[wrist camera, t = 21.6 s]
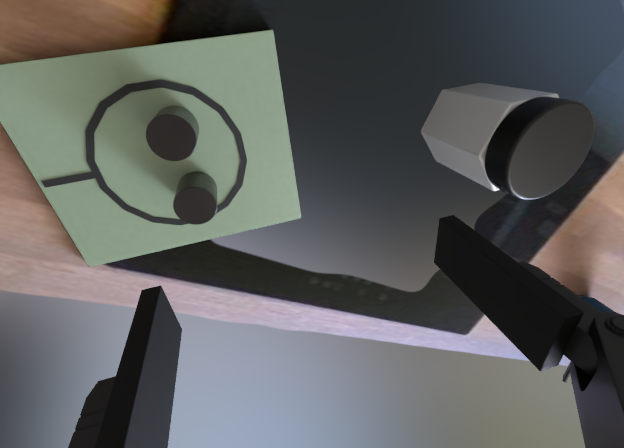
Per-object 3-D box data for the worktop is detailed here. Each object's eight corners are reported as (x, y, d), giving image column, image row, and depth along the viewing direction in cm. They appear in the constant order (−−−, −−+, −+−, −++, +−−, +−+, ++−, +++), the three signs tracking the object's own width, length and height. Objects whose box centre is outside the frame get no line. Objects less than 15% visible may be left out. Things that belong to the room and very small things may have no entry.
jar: (417, 166, 37) (494, 212, 27) (421, 91, 32) (514, 112, 22) (484, 150, 38) (581, 188, 28) (496, 77, 34) (615, 91, 24)
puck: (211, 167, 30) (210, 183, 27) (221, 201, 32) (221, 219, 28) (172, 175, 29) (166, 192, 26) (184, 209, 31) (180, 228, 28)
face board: (271, 29, 26) (273, 29, 26) (299, 214, 36) (301, 218, 35) (-26, 67, 23) (-34, 68, 22) (91, 262, 32) (88, 268, 31)
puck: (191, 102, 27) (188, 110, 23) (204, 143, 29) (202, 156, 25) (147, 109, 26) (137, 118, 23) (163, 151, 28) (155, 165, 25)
